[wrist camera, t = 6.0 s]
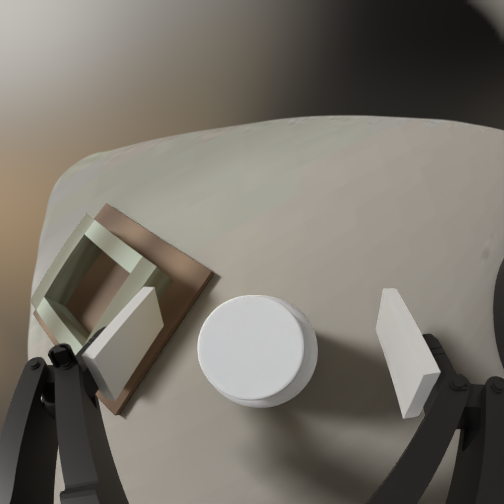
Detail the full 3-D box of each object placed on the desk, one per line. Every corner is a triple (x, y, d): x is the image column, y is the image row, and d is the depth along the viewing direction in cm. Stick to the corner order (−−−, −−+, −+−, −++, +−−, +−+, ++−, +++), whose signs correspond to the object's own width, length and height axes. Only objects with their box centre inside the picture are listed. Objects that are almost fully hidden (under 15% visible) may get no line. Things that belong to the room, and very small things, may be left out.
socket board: (213, 273, 22) (199, 255, 19) (118, 414, 18) (91, 417, 15) (109, 206, 27) (90, 186, 23) (37, 315, 23) (12, 305, 20)
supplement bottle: (220, 379, 19) (157, 381, 10) (248, 309, 20) (211, 256, 12) (293, 406, 17) (292, 438, 8) (321, 333, 19) (344, 298, 10)
